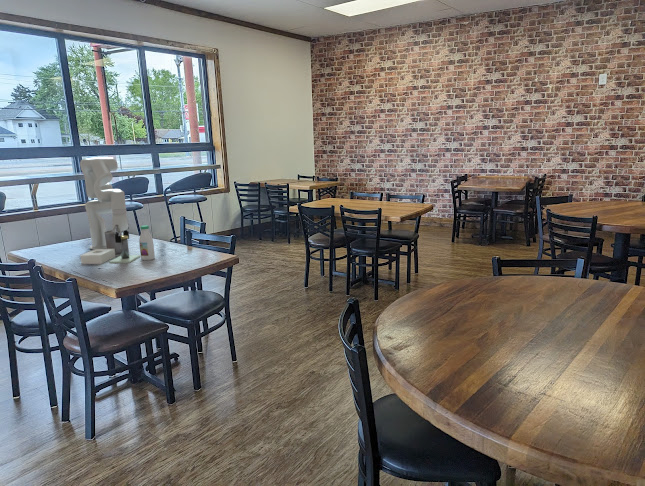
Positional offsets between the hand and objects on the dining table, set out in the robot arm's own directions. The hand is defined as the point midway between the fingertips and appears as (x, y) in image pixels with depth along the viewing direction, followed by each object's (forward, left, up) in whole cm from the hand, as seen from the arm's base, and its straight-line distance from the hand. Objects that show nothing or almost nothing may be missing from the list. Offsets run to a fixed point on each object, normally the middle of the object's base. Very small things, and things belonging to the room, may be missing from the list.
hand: (122, 240), depth 267 cm
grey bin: (-18, -15, -12) cm, 26 cm away
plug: (0, 0, -11) cm, 11 cm away
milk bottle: (-2, +13, -12) cm, 18 cm away
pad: (0, 0, -12) cm, 12 cm away
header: (0, -16, -12) cm, 20 cm away
